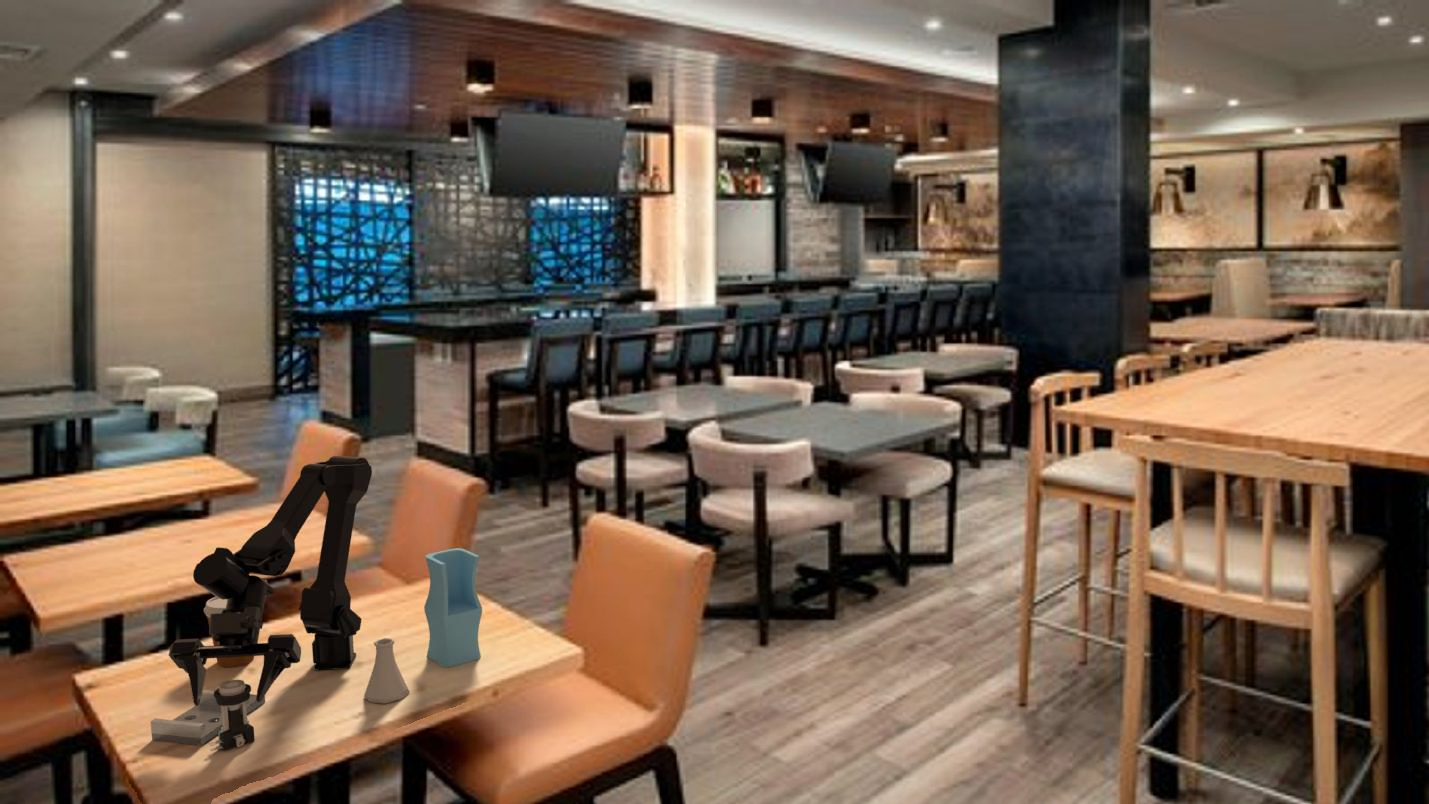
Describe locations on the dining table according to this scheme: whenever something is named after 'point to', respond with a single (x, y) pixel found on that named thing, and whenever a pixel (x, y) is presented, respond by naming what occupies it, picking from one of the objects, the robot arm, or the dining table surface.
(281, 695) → the dining table surface
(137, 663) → the dining table surface
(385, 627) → the dining table surface
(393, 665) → the flask
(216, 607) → the disposable coffee cup
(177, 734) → the bracket
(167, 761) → the dining table surface
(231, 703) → the push button
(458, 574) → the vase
